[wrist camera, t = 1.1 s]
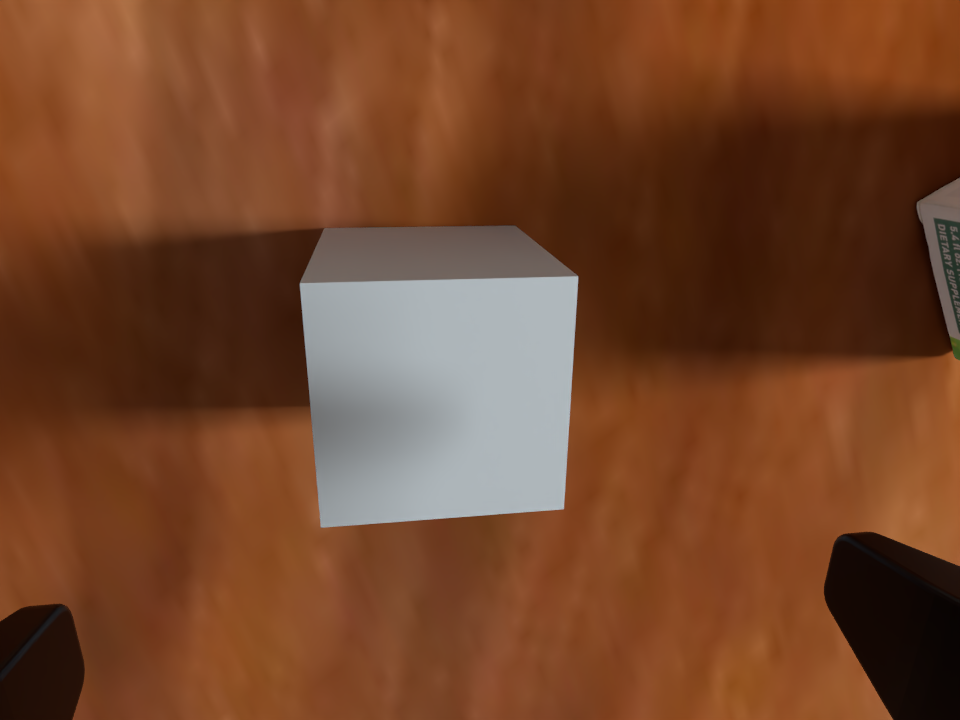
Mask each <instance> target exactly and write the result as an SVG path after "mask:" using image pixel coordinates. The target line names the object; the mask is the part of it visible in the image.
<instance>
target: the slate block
mask: <svg viewBox="0 0 960 720" xmlns="http://www.w3.org/2000/svg"><path fill="white" fill-rule="evenodd" d="M577 291H578V276H577V275H576V274H575V273H574V272H572V271H571V270H570V269H569V268H567V267H566V266H565V265H564V264H562V263H561V262H560V261H559V260H557V259H556V258H555V257H554V256H552V255H551V254H550V253H549V252H548V251H546V250H545V249H544V248H543V247H541V246H540V245H539V244H538V243H536V242H535V241H534V240H533V239H531V238H530V237H529V236H528V235H526V234H525V233H524V232H523V231H521V230H520V229H519V228H518V227H516V226H442V227H368V228H324V230H323V232H322V234H321V237H320V239H319V241H318V243H317V246H316V248H315V250H314V252H313V255H312V257H311V259H310V261H309V264H308V266H307V268H306V270H305V272H304V275H303V277H302V279H301V281H300V293H301V304H302V316H303V327H304V339H305V350H306V361H307V373H308V384H309V396H310V407H311V419H312V430H313V442H314V453H315V465H316V476H317V487H318V499H319V510H320V522H321V528H323V527H336V526H349V525H362V524H375V523H389V522H402V521H415V520H428V519H441V518H454V517H468V516H481V515H494V514H507V513H520V512H533V511H547V510H560V509H564V497H565V481H566V466H567V450H568V434H569V418H570V402H571V386H572V370H573V354H574V338H575V323H576V307H577Z"/></svg>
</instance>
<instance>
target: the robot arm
mask: <svg viewBox="0 0 960 720" xmlns="http://www.w3.org/2000/svg"><path fill="white" fill-rule="evenodd" d="M824 596H825V600H826V603H827V606H828V608H829V610H830V612H831V614H832V615H833V617H834V619H835V621H836V622H837V624H838V626H839V628H840V629H841V631H842V633H843V634H844V636H845V638H846V640H847V641H848V643H849V645H850V647H851V648H852V650H853V652H854V653H855V655H856V657H857V659H858V660H859V662H860V664H861V666H862V667H863V669H864V671H865V672H866V674H867V676H868V678H869V679H870V681H871V683H872V685H873V686H874V688H875V690H876V691H877V693H878V695H879V697H880V698H881V700H882V702H883V703H884V705H885V707H886V708H887V710H888V712H889V713H890V715H891V717H892V718H893V720H960V566H957V565H955V564H952V563H950V562H947V561H945V560H942V559H940V558H937V557H935V556H932V555H930V554H927V553H925V552H922V551H920V550H917V549H915V548H912V547H910V546H907V545H905V544H902V543H900V542H897V541H895V540H892V539H890V538H887V537H885V536H882V535H880V534H877V533H874V532H859V533H848V534H843V535H841V536H839V537H838V538H837V539H836V541H835V543H834V546H833V550H832V554H831V558H830V563H829V567H828V571H827V576H826V580H825V584H824ZM84 674H85V667H84V660H83V656H82V652H81V648H80V644H79V640H78V636H77V632H76V628H75V624H74V620H73V616H72V614H71V611H70V610H69V608H68V607H67V606H65V605H63V604H49V605H38V606H28V607H24V608H21V609H19V610H17V611H16V612H14V613H13V614H11V615H10V616H8V617H7V618H5V619H4V620H2V621H1V622H0V720H72V719H73V716H74V713H75V710H76V706H77V703H78V700H79V697H80V693H81V690H82V687H83V682H84Z"/></svg>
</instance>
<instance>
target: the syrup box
mask: <svg viewBox="0 0 960 720" xmlns="http://www.w3.org/2000/svg"><path fill="white" fill-rule="evenodd" d="M917 212H918V216H919V219H920V221H921V223H923V225H924V231H925V236H926V240H927V243H928V247H929V255H930V260H931V264H932V269H933V273H934V277H935V281H936V285H937V289H938V293H939V297H940V301H941V305H942V309H943V313H944V317H945V321H946V325H947V329H948V333H949V336H950V340H951V345H952V348H953V354H954V357H955V358H956V359H958V360H960V178H958V179H957V180H955V181H953V182H951V183H949V184H948V185H946V186H944V187H942V188H940V189H939V190H937V191H935V192H934V193H932V194H930V195H929V196H927V197H925V198H923V199H921V200H920V201H918V202H917Z"/></svg>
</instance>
